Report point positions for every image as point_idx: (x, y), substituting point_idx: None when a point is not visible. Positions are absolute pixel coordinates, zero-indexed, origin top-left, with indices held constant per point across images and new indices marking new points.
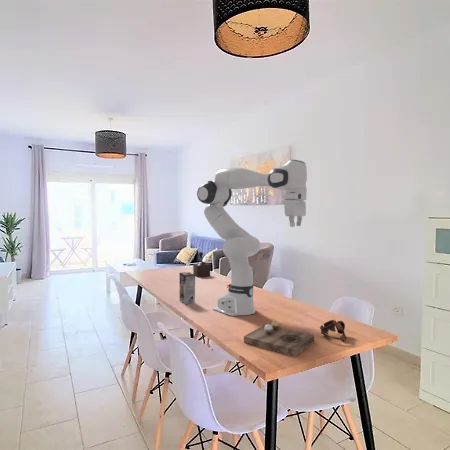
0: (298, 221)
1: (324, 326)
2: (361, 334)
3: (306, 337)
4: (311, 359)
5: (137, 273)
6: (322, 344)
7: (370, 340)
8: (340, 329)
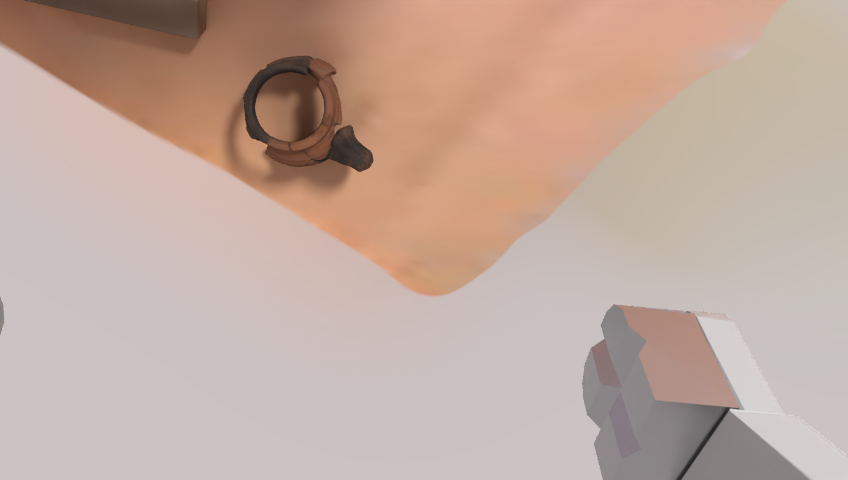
0: (722, 469)
1: (318, 80)
2: (404, 205)
3: (141, 7)
4: (4, 44)
5: None
6: (193, 68)
7: (349, 232)
8: (272, 158)
